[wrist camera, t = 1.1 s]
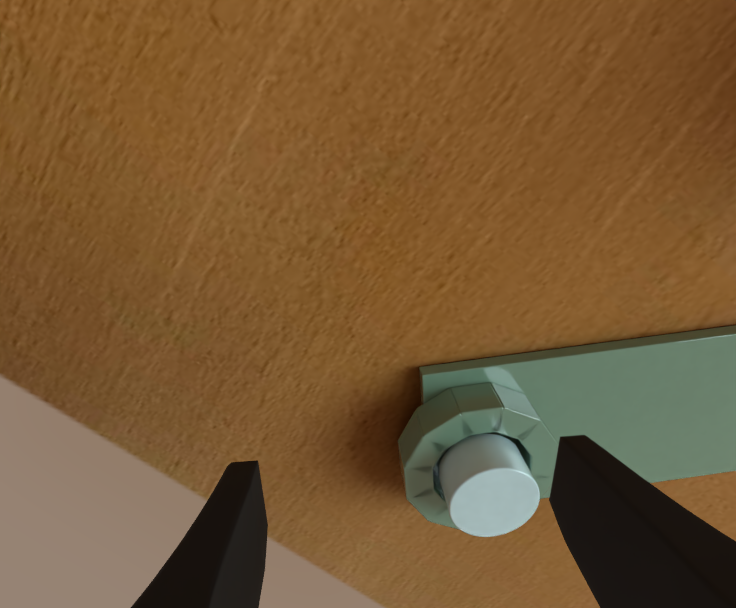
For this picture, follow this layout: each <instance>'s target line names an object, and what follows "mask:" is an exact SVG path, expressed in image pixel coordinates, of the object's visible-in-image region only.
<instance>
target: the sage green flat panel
mask: <svg viewBox="0 0 736 608" xmlns="http://www.w3.org/2000/svg"><path fill="white" fill-rule="evenodd" d="M419 373H420V388H421V403H422V405H421V406H419V407H418V408H416V410H415V411H414V413H413V415H412V417H411V418H410V420H409V422H408V424H407V425H406V427H405V429H404V430H403V432H402V434H401V436H400V437H399V439H398V448H399V459H400V469H401V474H402V479H403V484H404V489H405V494H406V498H407V500H408V501H409V502H410V503H411V504H412V505H413V506H414V507H415V508H416V509H417V510H418V511H419V512H420V513H421V514H422V515H423V516H424V517H425V518H426V519H427V520H428V521H430V522H433V523H436V524H440V525H444V526H448V527H451V528H455V529H459V528H458V527H457V526H456V525H455V524H454V523H453V522H452V520H451V518H450V515H449V512H448V508H447V505H446V501H445V498H444V495H443V491H442V488H441V484H440V481H439V477H438V468H439V464H440V461H441V459H442V457H443V456H444V454H445V453H446V451H447V450H448V449H449V448H450V447H452V446H453V445H454V444H456V443H458V442H459V441H461V440H462V439H464V438H467V437H469V436H473V435H477V434H497V435H500V436H503V437H506V438H507V439H509V440H511V441H512V442H513V443H514V444H515V445H516V446H517V447H518V449H519V450H520V452H521V454H522V456H523V458H524V460H525V462H526V464H527V466H528V467H529V469H530V471H531V473H532V475H533V477H534V479H535V481H536V483H537V485H538V487H539V492H540V499H542V498H549V497H550V493H551V487H552V481H553V475H554V469H555V463H556V457H557V452H558V446H559V440H560V437H562V436H575V435H586V436H587V437H589V438H590V439H591V440H593V441H594V442H596V443H597V444H598V445H600V446H601V447H602V448H604V449H605V450H606V451H608V452H609V453H610V454H612V455H613V456H614V457H616V458H617V459H618V460H619V461H621V462H622V463H623V464H625V465H626V466H627V467H629V468H630V469H631V470H633V471H634V472H635V473H637V474H638V475H639V476H641V477H642V478H643V479H645V480H646V481H647V482H649V483H654V482H661V481H668V480H675V479H682V478H689V477H696V476H703V475H710V474H717V473H724V472H731V471H736V325H734V326H726V327H718V328H711V329H703V330H696V331H688V332H680V333H673V334H665V335H658V336H650V337H643V338H635V339H627V340H620V341H612V342H605V343H597V344H589V345H582V346H574V347H567V348H559V349H552V350H544V351H536V352H529V353H521V354H514V355H506V356H499V357H491V358H483V359H476V360H468V361H461V362H453V363H445V364H438V365H430V366H423V367H419ZM540 499H539V501H540ZM459 530H460V529H459Z"/></svg>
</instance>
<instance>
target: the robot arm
mask: <svg viewBox="0 0 736 608" xmlns="http://www.w3.org/2000/svg"><path fill="white" fill-rule="evenodd" d="M549 501H550V503H551V506H552V509H553V511H554V514H555V517H556V520H557V522H558V525H559V527H560V530H561V532H562V535H563V537H564V540H565V542H566V544H567V546H568V548H569V550H570V552H571V554H572V555H573V557H574V559H575V561H576V563H577V565H578V567H579V569H580V571H581V572H582V574H583V576H584V578H585V580H586V582H587V584H588V586H589V587H590V589H591V591H592V593H593V595H594V597H595V599H596V600H597V602H598V604H599V606H600V608H736V541H734V540H733V539H731V538H729V537H728V536H726V535H724V534H723V533H721V532H720V531H718V530H717V529H715V528H714V527H712V526H711V525H709V524H708V523H706V522H705V521H703V520H702V519H700V518H699V517H697V516H696V515H694V514H693V513H691V512H690V511H688V510H687V509H685V508H684V507H682V506H681V505H679V504H678V503H677V502H675V501H674V500H672V499H671V498H669V497H668V496H667V495H665V494H664V493H662V492H661V491H660V490H658V489H657V488H656V487H654V486H653V485H651V484H650V483H649V482H647V481H646V480H645V479H643V478H642V477H641V476H639V475H638V474H637V473H635V472H634V471H633V470H631V469H630V468H629V467H627V466H626V465H625V464H623V463H622V462H621V461H619V460H618V459H617V458H616V457H614V456H613V455H612V454H610V453H609V452H608V451H606V450H605V449H604V448H602V447H601V446H600V445H598V444H597V443H596V442H594V441H593V440H591V439H590V438H589V437H587V436H586V435H575V436H562V437H560V440H559V446H558V452H557V457H556V463H555V469H554V475H553V481H552V487H551V493H550V498H549ZM267 527H268V524H267V517H266V510H265V504H264V497H263V491H262V484H261V478H260V471H259V465H258V461H246V462H233V463H230V464H229V465H228V466H227V468H226V470H225V471H224V473H223V475H222V477H221V479H220V480H219V482H218V484H217V486H216V487H215V489H214V491H213V493H212V494H211V496H210V498H209V499H208V501H207V503H206V504H205V506H204V507H203V509H202V511H201V512H200V514H199V515H198V517H197V518H196V520H195V522H194V523H193V524H192V526H191V527H190V529H189V530H188V532H187V533H186V535H185V537H184V538H183V540H182V541H181V542H180V544H179V545H178V547H177V548H176V549H175V551H174V552H173V554H172V555H171V556H170V558H169V559H168V560H167V562H166V563H165V564H164V566H163V567H162V569H161V570H160V571H159V573H158V574H157V575H156V577H155V578H154V579H153V581H152V582H151V583H150V584H149V586H148V587H147V588H146V590H145V591H144V592H143V593H142V595H141V596H140V597H139V598H138V600H137V601H136V602H135V603H134V605H133V606H132V607H131V608H258V607H259V600H260V595H261V589H262V582H263V577H264V571H265V558H266V543H267Z"/></svg>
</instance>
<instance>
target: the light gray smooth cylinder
mask: <svg viewBox="0 0 736 608" xmlns="http://www.w3.org/2000/svg"><path fill="white" fill-rule="evenodd" d="M438 477H439V481H440V484H441V488H442V491H443V495H444V498H445V501H446V505H447V508H448V512H449V515H450V518H451V520H452V522H453V523H454V524H455V525H456V526H457V527H458V528H459V529H460V530H462V531H463V532H465V533H467V534H470V535H474V536H480V537H492V536H498V535H502V534H506V533H508V532H511V531H513V530H515V529H517V528H518V527H520V526H522V525H523V524H524V523H525V522H527V521H528V520H529V519H530V518H531V516H532V515H533V514H534V512H535V511H536V509H537V507H538V504H539V499H540V492H539V487H538V485H537V483H536V481H535V479H534V477H533V475H532V473H531V471H530V469H529V467H528V466H527V464H526V462H525V460H524V458H523V456H522V454H521V452H520V450H519V449H518V447H517V446H516V445H515V444H514V443H513V442H512V441H511V440H509V439H507V438H506V437H503V436H500V435H497V434H477V435H473V436H469V437H467V438H464V439H462V440H461V441H459V442H458V443H456V444H454V445H453V446H452V447H450V448H449V449H448V450H447V451H446V453H445V454H444V456H443V457H442V459H441V461H440V464H439V468H438Z"/></svg>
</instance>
